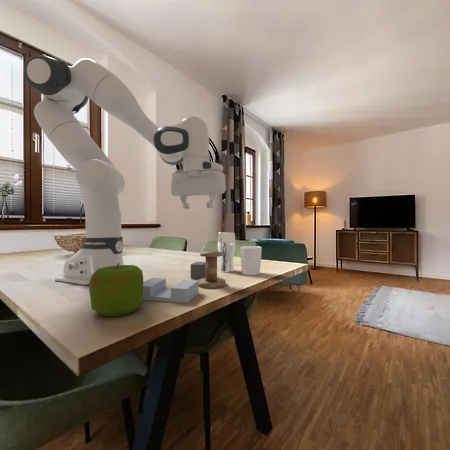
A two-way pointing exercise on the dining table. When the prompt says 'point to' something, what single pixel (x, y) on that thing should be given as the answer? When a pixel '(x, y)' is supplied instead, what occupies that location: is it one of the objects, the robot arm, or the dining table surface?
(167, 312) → the dining table surface
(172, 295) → the notch board
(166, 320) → the dining table surface
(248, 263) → the white cup
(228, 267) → the beer glass
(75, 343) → the dining table surface
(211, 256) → the bobbin
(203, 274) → the tab
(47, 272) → the dining table surface
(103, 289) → the apple
